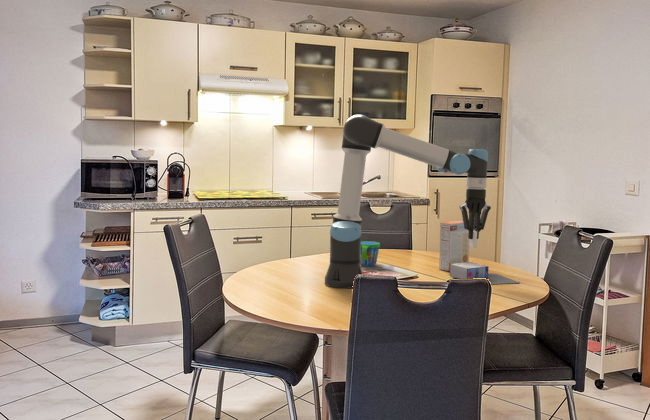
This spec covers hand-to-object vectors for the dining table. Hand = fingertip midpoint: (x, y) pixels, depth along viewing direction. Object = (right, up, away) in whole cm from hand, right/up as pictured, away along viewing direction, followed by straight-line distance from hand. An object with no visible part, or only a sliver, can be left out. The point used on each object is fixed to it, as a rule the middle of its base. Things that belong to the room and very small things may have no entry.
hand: (472, 247), depth 237 cm
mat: (+6, -13, +3) cm, 15 cm away
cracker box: (-3, -11, +23) cm, 26 cm away
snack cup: (-40, -10, +28) cm, 50 cm away
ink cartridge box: (-6, -10, 0) cm, 12 cm away
